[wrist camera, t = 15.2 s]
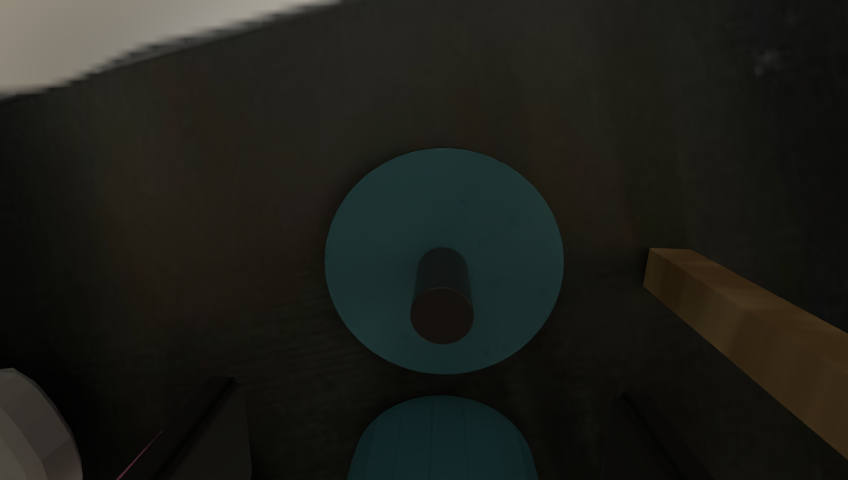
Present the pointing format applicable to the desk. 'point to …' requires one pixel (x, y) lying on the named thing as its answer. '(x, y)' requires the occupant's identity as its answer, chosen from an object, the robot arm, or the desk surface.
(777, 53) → the desk surface
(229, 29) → the desk surface
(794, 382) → the stick
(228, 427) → the robot arm
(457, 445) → the tin
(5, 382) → the robot toy
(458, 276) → the tin lid
